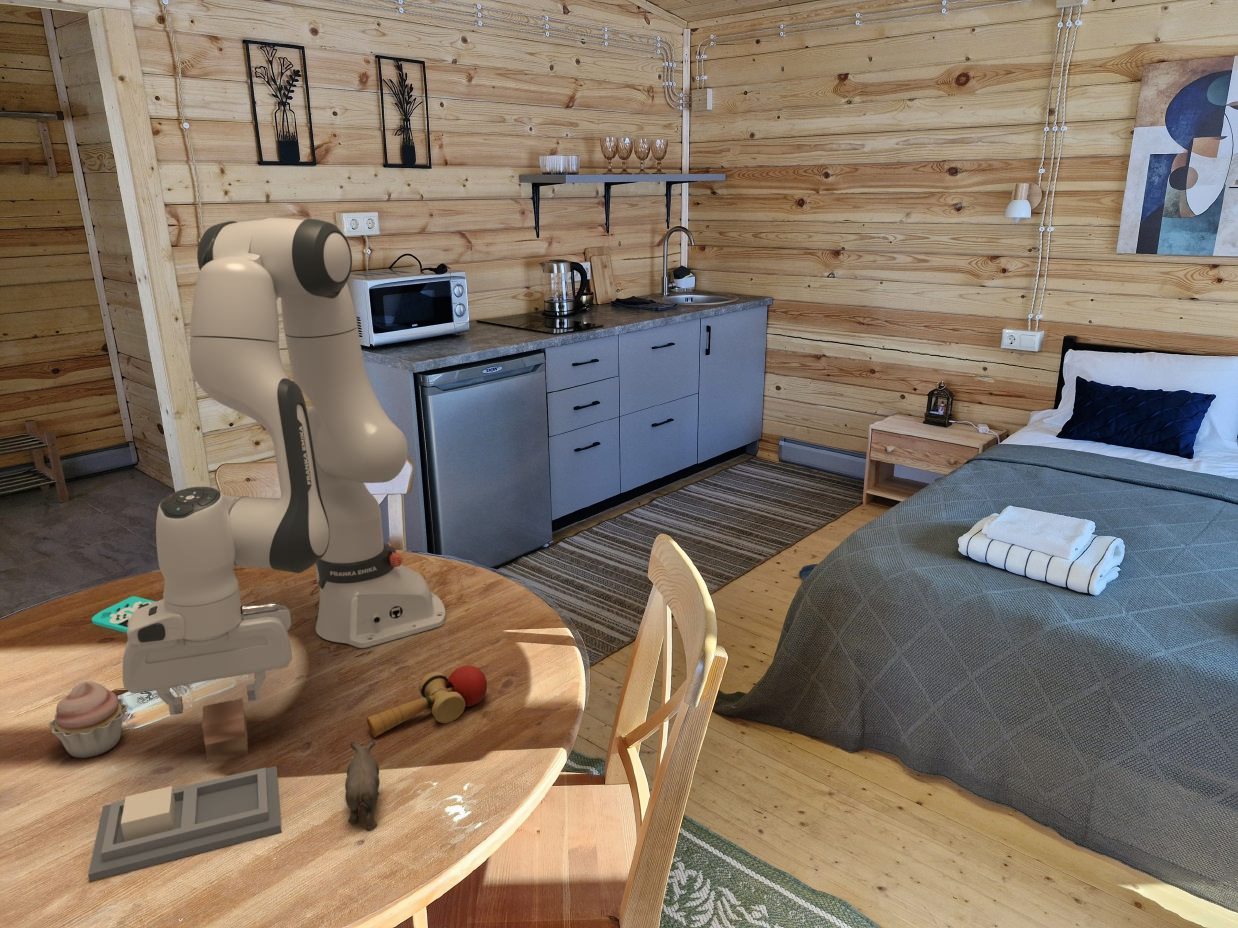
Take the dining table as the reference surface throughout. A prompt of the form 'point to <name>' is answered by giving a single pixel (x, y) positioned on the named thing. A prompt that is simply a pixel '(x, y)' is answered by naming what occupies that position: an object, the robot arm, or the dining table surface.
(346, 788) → the rhino figurine
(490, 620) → the dining table surface
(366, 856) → the dining table surface
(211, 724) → the brown block
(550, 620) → the dining table surface
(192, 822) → the base plate
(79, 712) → the cupcake
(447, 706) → the kendama
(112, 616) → the handheld game console
